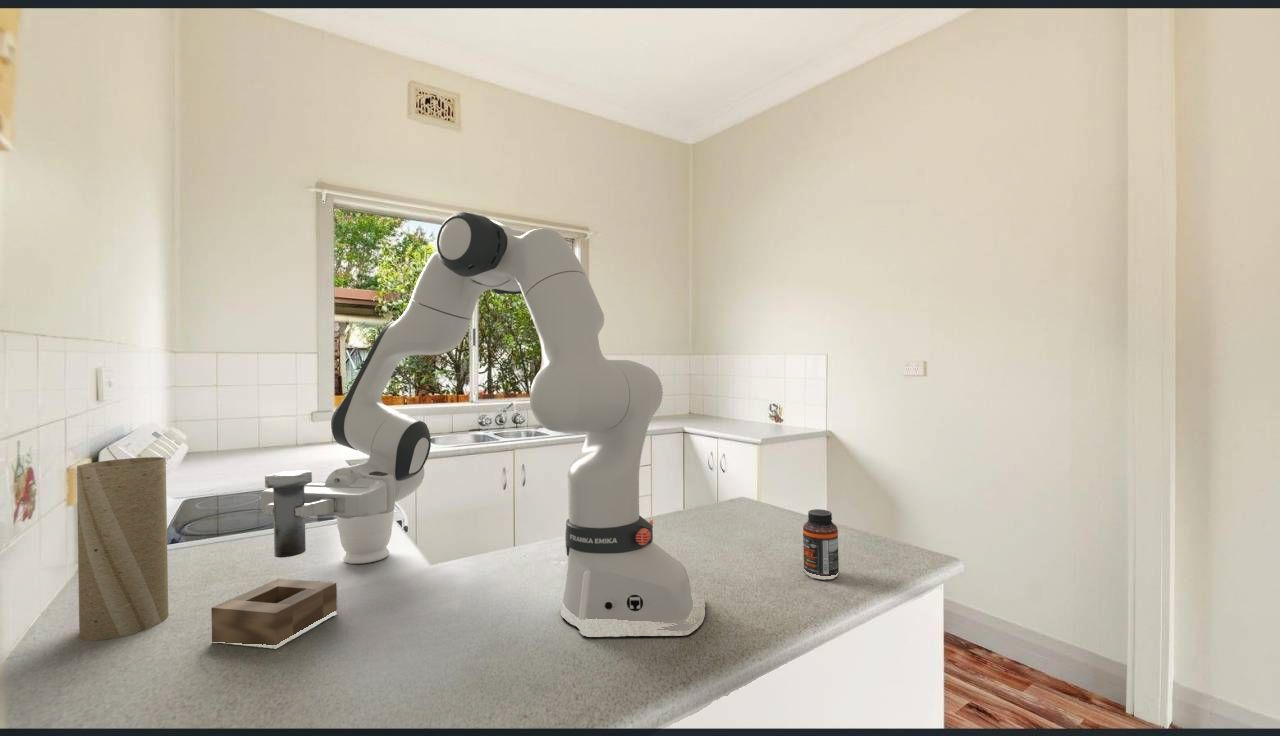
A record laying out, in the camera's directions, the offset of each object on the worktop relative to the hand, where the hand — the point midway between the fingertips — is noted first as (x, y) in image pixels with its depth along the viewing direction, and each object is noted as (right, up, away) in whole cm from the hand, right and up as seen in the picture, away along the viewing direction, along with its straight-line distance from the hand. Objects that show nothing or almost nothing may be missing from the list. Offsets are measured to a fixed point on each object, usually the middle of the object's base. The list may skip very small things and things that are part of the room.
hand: (284, 511), depth 82 cm
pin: (0, -6, +1) cm, 7 cm away
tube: (-26, -18, +2) cm, 31 cm away
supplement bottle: (+86, -15, +15) cm, 89 cm away
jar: (-3, -18, +31) cm, 36 cm away
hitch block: (0, -17, -1) cm, 17 cm away
